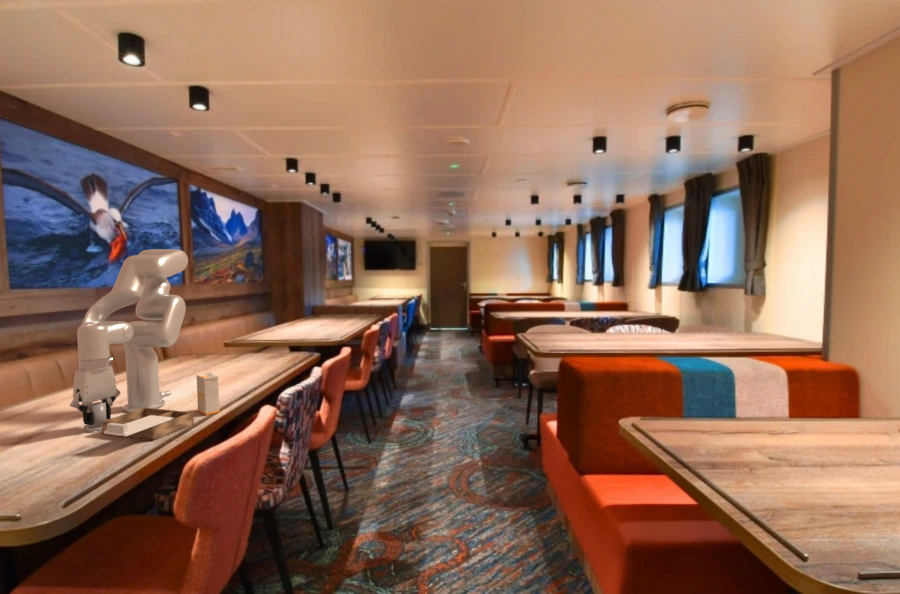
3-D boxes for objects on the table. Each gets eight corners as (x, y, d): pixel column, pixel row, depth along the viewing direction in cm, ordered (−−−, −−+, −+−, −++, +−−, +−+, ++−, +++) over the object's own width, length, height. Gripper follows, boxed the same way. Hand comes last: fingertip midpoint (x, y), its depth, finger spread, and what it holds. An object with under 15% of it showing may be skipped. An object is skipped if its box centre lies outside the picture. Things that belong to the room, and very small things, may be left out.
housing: (145, 419, 145) (145, 407, 144) (193, 424, 139) (193, 412, 139) (102, 434, 131) (101, 421, 131) (153, 440, 126) (153, 427, 126)
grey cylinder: (96, 424, 140) (95, 400, 139) (113, 426, 138) (112, 402, 137) (77, 430, 134) (76, 405, 134) (95, 433, 132) (93, 407, 132)
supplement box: (220, 412, 151) (219, 375, 151) (205, 415, 148) (204, 378, 147) (212, 407, 157) (210, 372, 156) (197, 410, 153) (195, 374, 153)
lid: (150, 417, 133) (150, 408, 133) (171, 419, 131) (170, 410, 131) (103, 433, 120) (103, 424, 120) (125, 436, 118) (125, 426, 118)
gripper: (113, 358, 144) (115, 412, 145) (55, 369, 127) (58, 430, 128) (130, 359, 142) (132, 414, 143) (73, 370, 125) (76, 432, 126)
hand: (97, 421), depth 135 cm, fingers closed on grey cylinder, 4 cm apart
